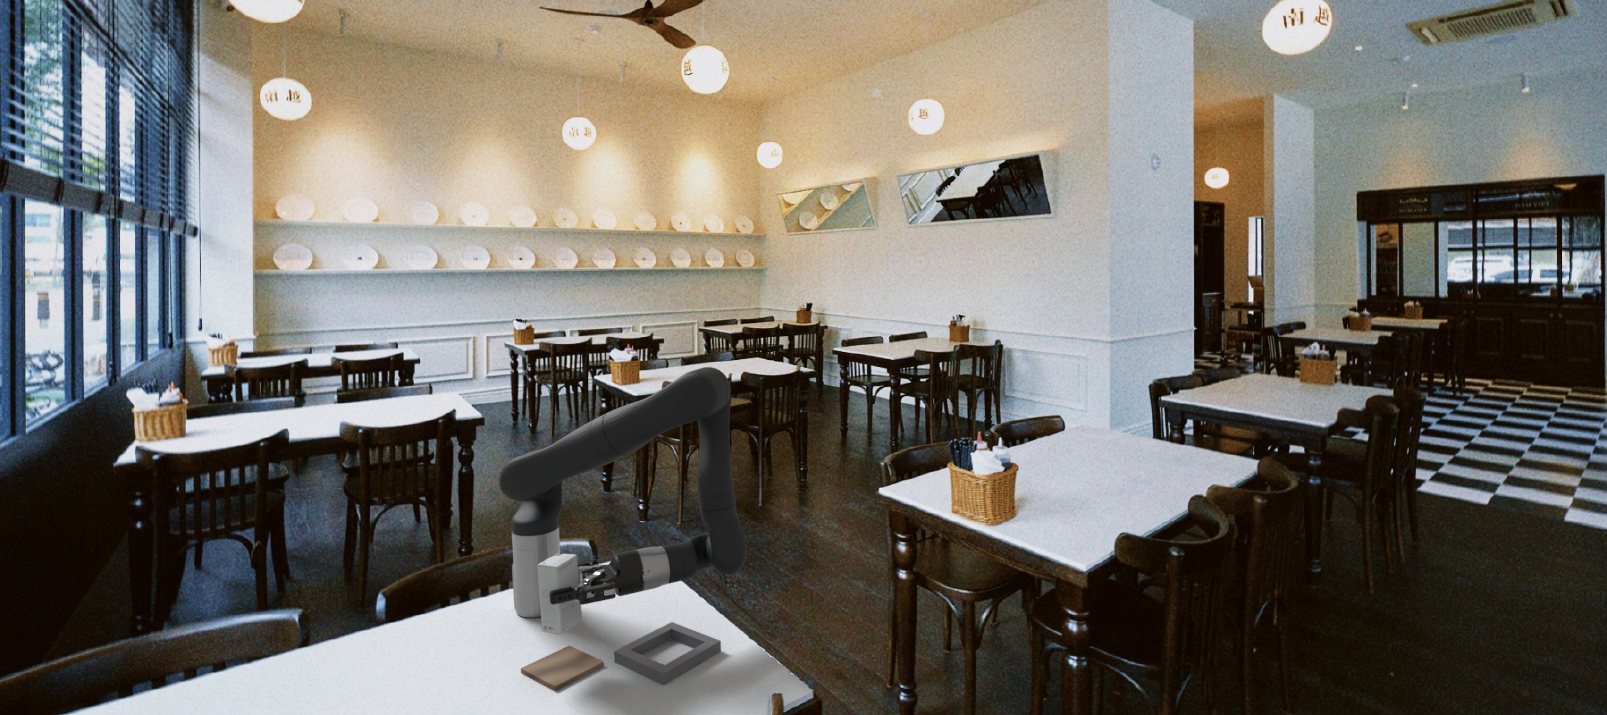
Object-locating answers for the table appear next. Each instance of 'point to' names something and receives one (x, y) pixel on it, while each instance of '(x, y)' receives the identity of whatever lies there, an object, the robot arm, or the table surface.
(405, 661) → the table surface
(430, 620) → the table surface
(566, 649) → the coaster
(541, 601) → the skincare box
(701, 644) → the socket block
